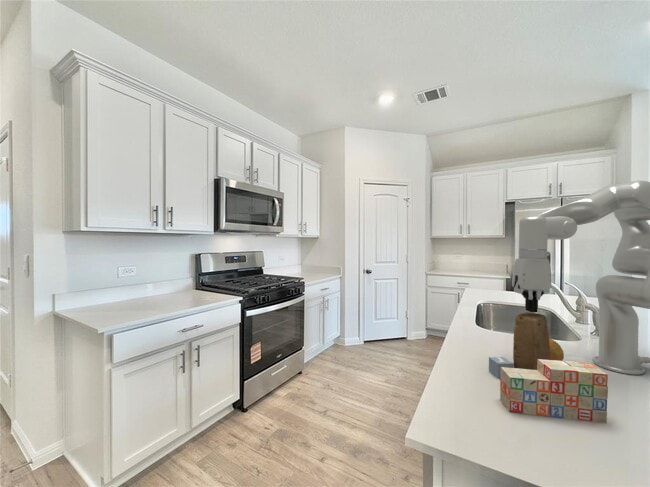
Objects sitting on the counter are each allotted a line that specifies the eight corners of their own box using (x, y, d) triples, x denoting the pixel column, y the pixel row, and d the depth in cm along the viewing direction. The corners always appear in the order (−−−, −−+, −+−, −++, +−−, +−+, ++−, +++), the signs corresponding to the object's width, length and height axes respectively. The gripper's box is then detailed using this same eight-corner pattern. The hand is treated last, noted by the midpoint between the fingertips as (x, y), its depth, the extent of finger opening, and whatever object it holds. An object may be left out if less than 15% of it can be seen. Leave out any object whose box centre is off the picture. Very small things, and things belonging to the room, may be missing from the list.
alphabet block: (503, 371, 96) (503, 356, 96) (513, 379, 91) (513, 362, 91) (488, 371, 96) (488, 356, 96) (497, 379, 91) (497, 362, 91)
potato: (554, 343, 96) (567, 336, 101) (512, 334, 108) (525, 328, 112) (557, 371, 96) (570, 363, 101) (515, 359, 108) (528, 351, 113)
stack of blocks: (509, 413, 74) (509, 365, 73) (499, 399, 80) (500, 355, 79) (607, 424, 69) (608, 373, 69) (589, 408, 75) (590, 362, 75)
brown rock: (536, 384, 88) (537, 319, 87) (510, 374, 94) (510, 313, 94) (552, 375, 93) (553, 314, 93) (527, 366, 99) (527, 309, 99)
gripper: (546, 254, 97) (545, 308, 97) (502, 254, 97) (501, 308, 97) (565, 255, 89) (564, 314, 89) (517, 255, 89) (516, 314, 89)
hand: (531, 311), depth 93 cm, fingers closed
